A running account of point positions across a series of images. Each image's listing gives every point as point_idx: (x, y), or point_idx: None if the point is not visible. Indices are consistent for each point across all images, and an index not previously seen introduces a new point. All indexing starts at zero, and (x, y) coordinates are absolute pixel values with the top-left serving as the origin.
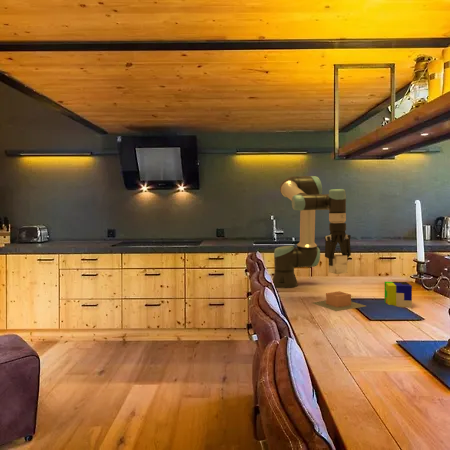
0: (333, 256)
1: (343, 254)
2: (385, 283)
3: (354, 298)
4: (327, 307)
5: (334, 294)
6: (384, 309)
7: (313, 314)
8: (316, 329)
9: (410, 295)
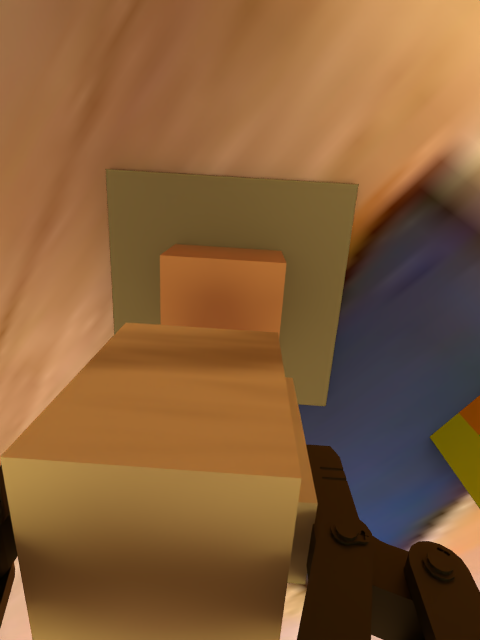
0: (2, 603)
1: (333, 576)
2: None
3: (473, 195)
4: (124, 316)
5: (182, 320)
6: (370, 453)
7: (11, 341)
8: None
9: None
